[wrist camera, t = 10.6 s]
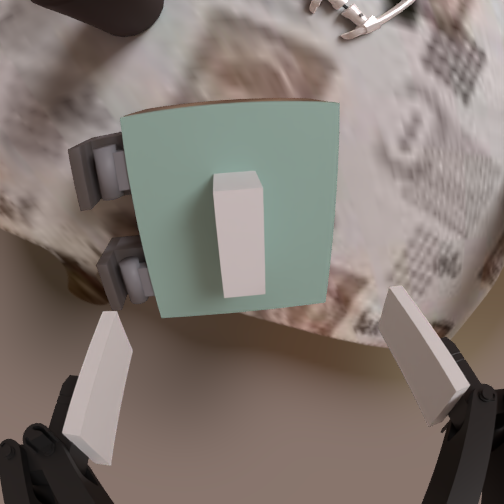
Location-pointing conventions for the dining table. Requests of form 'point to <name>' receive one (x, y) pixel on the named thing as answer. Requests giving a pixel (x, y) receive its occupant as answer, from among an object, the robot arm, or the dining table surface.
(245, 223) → the door
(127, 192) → the cabinet
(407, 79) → the dining table surface
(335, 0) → the door handle
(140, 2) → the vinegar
